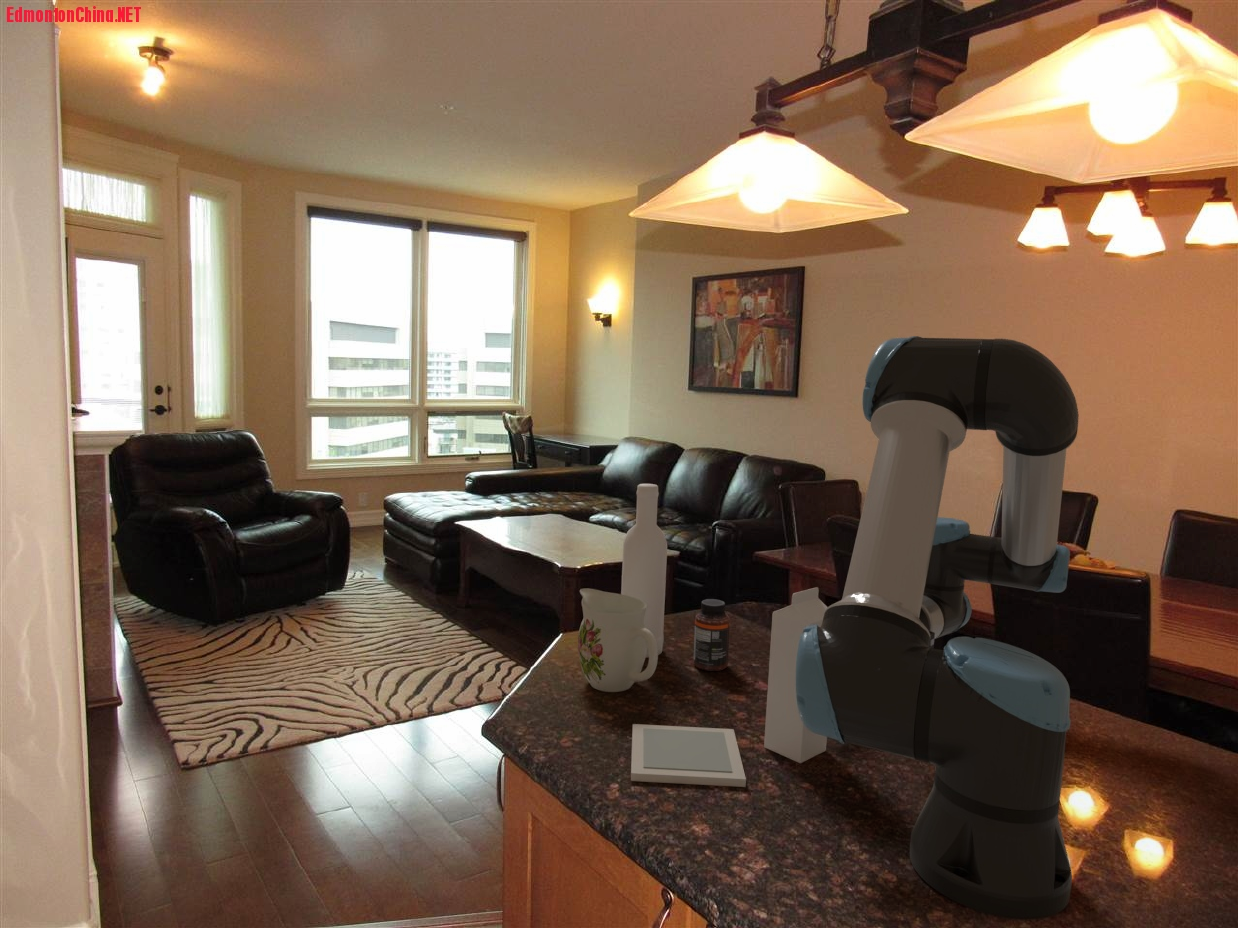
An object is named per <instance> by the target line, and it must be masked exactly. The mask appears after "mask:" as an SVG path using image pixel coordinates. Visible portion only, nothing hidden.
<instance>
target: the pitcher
mask: <svg viewBox="0 0 1238 928" xmlns="http://www.w3.org/2000/svg"><path fill="white" fill-rule="evenodd" d="M579 593H580V595H581V597H582V599H581V607H582V614H583V619H582V621H581V623H580V627H579V630H578V638H577V651H578V658H579V663H580V667H581V670H582V673H583V675H584V677H585V679H586V680H587V682H589V685H590V686H591V687H592V688H593V689H596V690H598V691H600V692H606V693H618V692H620V693H621V692H625V691H627V690H629V689H630V688H631V687H632V686H633V685H634V683H636V682H644V681H647V680H648V679H650V678H651V677H652V676H653V675H654V674H655V671H656V669H657V665H658V660H659V655H658V648H657V642H656V639H655V637H654V635H653V634H652V632H651V631H649V630H648V629H646V628H645V624H644V616H645V612H646V608H647V604H646V603H645V602H644V601H642V600H640V599H637V598H634V597H631V596H627V595H623V594H621V593H616V592H608V591H603V590H600V589H596V588H588V587H587V588H580V590H579ZM647 644H648V648H649V658H648V662H647V666H646V668H644V670H643V667H644V663H645V660H646V658H645V657H646V652H647ZM642 670H643V671H642Z"/></svg>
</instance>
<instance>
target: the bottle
mask: <svg viewBox="0 0 1238 928" xmlns="http://www.w3.org/2000/svg"><path fill="white" fill-rule="evenodd" d="M635 494H636V515H635V516H636V517H635V524H634V525H633V526H632V527H631V528H629V529H628V531H627V532H626V535H625V537H624V539H623V545H622V546H623V547H622V566H621V567H622V568H621V588H620V589H621V591H620V594H623V595H627V596H631V597H634V598H637V599H640V600H642V601H644V602H645V603H646V604H647V608H646V612H645V616H644V624H645V628H646V629H648V630H649V631H651V632H652V634H653V635H654V637H655V639H656V642H657V648H658V656H659V655H661V654H662V652H663V646H664V638H665V637H664V627H665V626H664V623H665V604H666V602H665V600H666V582H667V581H666V580H667V559H668V542H667V538H666V535H665V532H664V531H663V530H662V529H661V528H660V527H659V526H658V524H657V523H658V522H657V521H658V518H657V517H658V504H659V503H658V500H659V499H658V497H659V495H660V492H659V485H657V484H655V483H654V484H653V483H639V484H638V485H637V490H636V493H635ZM646 658H648V659H649V648H648V644H647V652H646V657H645V659H646Z"/></svg>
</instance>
